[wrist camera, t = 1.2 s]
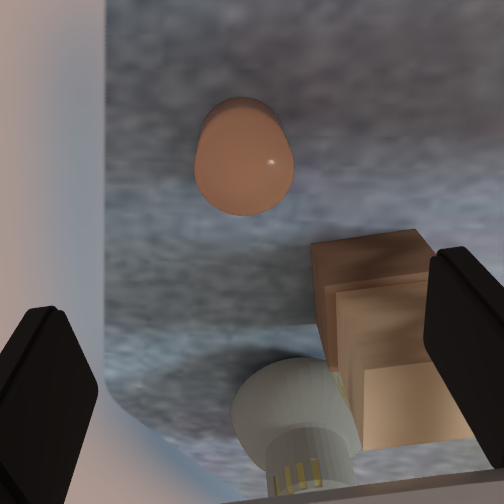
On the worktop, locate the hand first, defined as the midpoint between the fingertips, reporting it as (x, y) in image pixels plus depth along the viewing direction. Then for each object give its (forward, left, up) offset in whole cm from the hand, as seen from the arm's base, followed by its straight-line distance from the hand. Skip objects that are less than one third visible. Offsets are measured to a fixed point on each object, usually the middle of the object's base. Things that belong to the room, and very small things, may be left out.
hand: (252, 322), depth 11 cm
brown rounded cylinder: (0, 0, -16) cm, 16 cm away
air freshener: (-1, +21, -16) cm, 27 cm away
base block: (-7, +11, -16) cm, 21 cm away
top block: (-7, +11, -11) cm, 18 cm away
